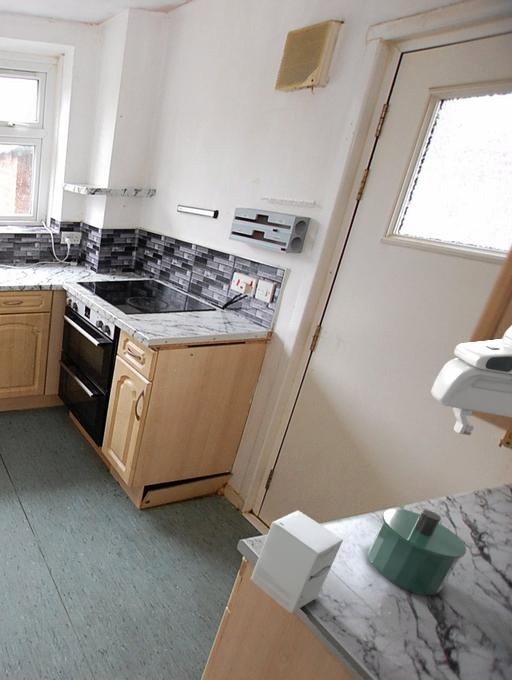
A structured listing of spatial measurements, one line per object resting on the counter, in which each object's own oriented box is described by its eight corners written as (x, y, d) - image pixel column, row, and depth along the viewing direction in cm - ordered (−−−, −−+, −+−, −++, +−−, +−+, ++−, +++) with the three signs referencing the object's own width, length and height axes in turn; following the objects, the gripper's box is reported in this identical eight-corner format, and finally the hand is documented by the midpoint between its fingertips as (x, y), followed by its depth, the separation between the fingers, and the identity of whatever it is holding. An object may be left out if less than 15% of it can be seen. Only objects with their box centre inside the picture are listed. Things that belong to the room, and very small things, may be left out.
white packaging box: (291, 616, 71) (318, 554, 67) (248, 579, 77) (270, 520, 73) (318, 599, 75) (345, 539, 70) (275, 565, 81) (297, 508, 76)
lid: (442, 525, 83) (453, 504, 81) (478, 570, 73) (492, 548, 71) (371, 506, 86) (380, 486, 84) (396, 548, 76) (408, 526, 74)
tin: (422, 559, 85) (442, 523, 82) (452, 604, 76) (475, 565, 73) (359, 541, 88) (375, 506, 85) (380, 582, 79) (399, 544, 76)
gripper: (609, 366, 69) (565, 444, 74) (444, 343, 75) (413, 417, 80) (649, 382, 64) (598, 465, 68) (467, 355, 69) (431, 434, 74)
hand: (497, 439), depth 74 cm, fingers open, 8 cm apart
